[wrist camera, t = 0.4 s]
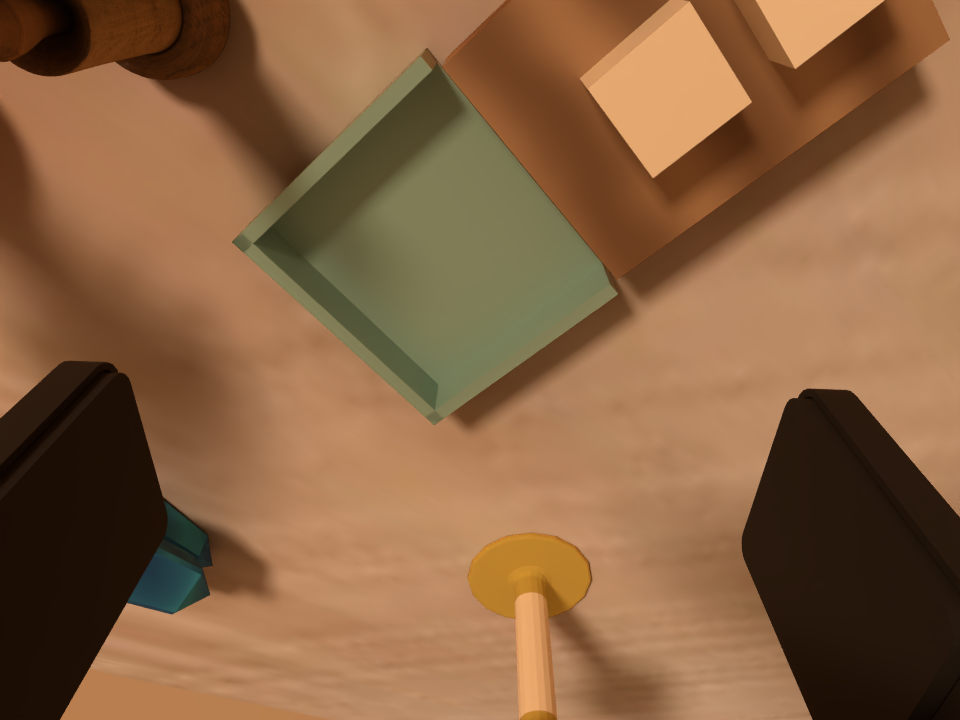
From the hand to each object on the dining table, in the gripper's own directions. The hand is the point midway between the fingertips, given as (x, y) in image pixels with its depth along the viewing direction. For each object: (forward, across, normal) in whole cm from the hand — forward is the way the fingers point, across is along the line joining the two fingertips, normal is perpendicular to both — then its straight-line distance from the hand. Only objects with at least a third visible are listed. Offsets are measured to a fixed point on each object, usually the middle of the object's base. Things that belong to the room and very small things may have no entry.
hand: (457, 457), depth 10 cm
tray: (+29, +3, +8) cm, 31 cm away
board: (+29, -10, -3) cm, 31 cm away
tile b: (+25, -8, -2) cm, 27 cm away
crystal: (+30, +23, +31) cm, 49 cm away
